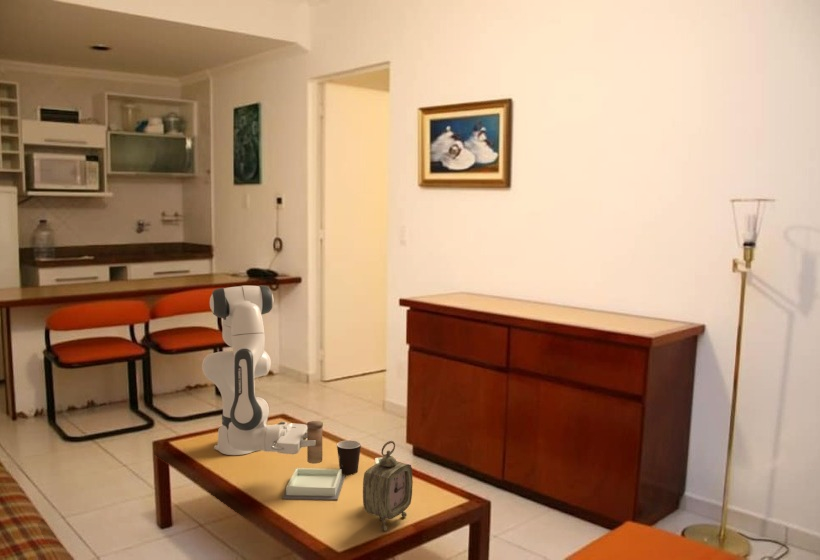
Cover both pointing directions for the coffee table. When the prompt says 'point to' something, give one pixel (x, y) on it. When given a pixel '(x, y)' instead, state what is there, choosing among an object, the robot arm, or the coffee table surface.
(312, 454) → the canister
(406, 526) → the coffee table surface
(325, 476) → the dish
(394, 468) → the tabletop clock
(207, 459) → the coffee table surface
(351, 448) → the coffee mug
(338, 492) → the mat
